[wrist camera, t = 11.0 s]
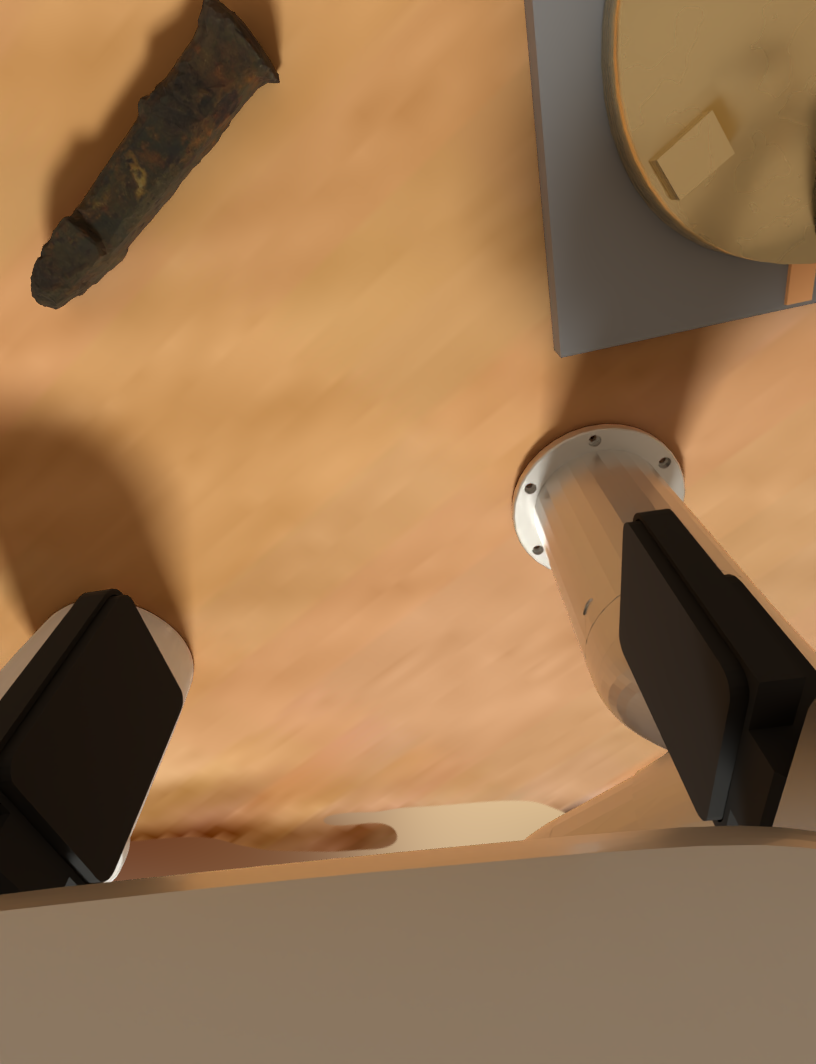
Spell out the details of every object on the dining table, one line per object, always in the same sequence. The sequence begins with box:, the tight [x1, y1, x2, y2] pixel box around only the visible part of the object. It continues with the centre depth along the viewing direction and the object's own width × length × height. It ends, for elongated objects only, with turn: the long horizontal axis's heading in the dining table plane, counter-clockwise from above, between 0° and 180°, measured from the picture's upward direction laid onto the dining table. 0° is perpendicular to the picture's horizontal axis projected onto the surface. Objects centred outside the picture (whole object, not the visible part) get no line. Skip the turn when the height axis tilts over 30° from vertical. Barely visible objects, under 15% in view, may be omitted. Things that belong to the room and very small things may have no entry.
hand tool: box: [31, 0, 280, 309], centre depth 31 cm, size 19×4×5 cm, turn 129°
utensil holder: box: [0, 603, 194, 883], centre depth 44 cm, size 15×15×18 cm
